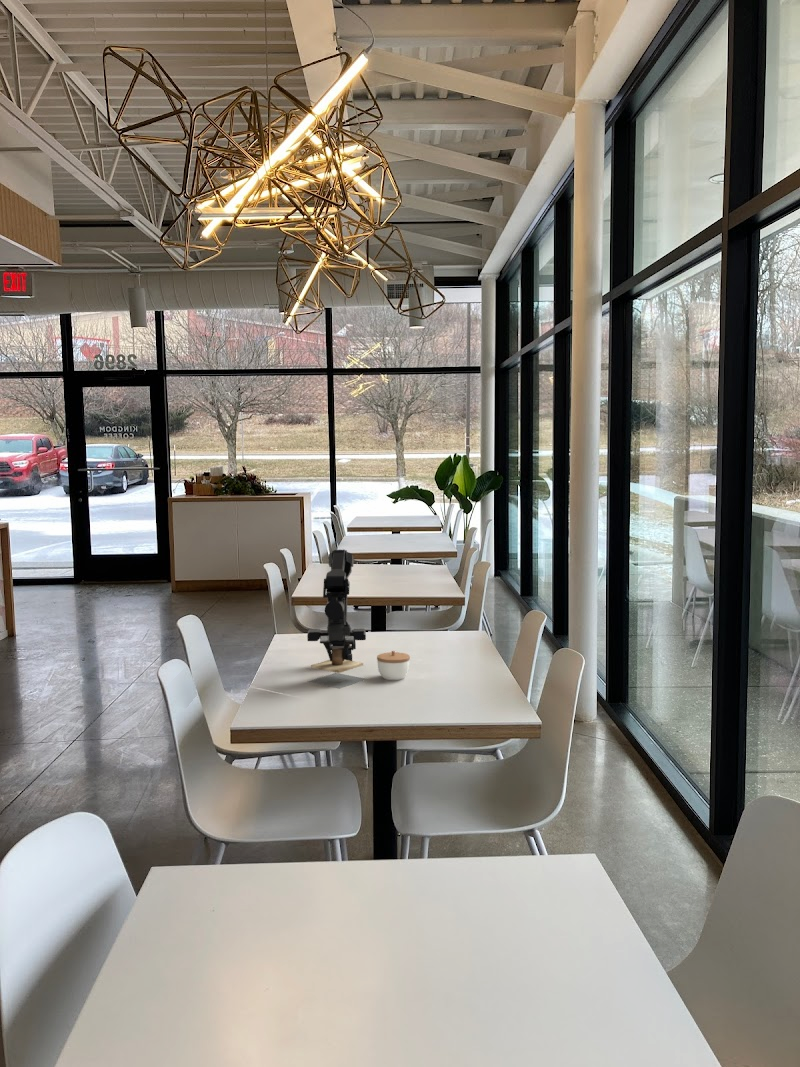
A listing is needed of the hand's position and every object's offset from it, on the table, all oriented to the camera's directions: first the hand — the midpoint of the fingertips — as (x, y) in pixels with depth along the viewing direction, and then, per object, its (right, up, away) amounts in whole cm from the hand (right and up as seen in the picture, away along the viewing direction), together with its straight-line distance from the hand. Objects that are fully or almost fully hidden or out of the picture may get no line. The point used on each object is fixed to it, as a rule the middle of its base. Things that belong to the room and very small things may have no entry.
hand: (337, 660), depth 289 cm
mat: (0, -7, +1) cm, 7 cm away
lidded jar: (+18, -7, +3) cm, 20 cm away
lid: (0, -2, 0) cm, 2 cm away
